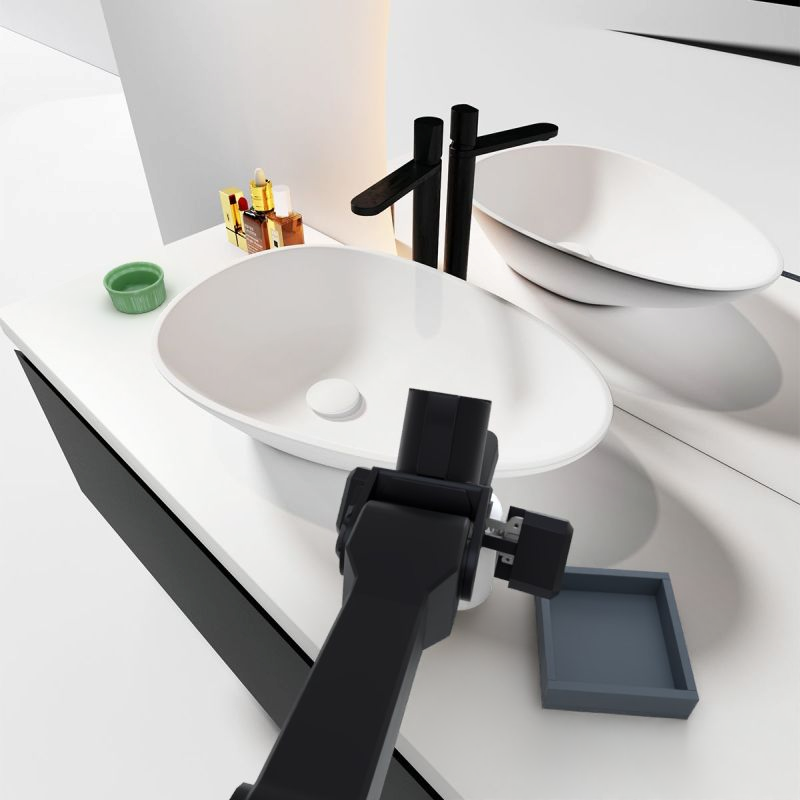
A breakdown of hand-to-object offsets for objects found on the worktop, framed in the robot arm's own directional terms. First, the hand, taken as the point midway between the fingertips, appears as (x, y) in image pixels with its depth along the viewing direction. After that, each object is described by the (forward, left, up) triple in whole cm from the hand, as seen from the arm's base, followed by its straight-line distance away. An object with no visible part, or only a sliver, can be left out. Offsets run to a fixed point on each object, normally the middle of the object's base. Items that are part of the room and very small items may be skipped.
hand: (466, 521), depth 65 cm
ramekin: (+48, +51, -10) cm, 71 cm away
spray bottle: (-1, 0, -8) cm, 8 cm away
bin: (-6, -14, -10) cm, 18 cm away
